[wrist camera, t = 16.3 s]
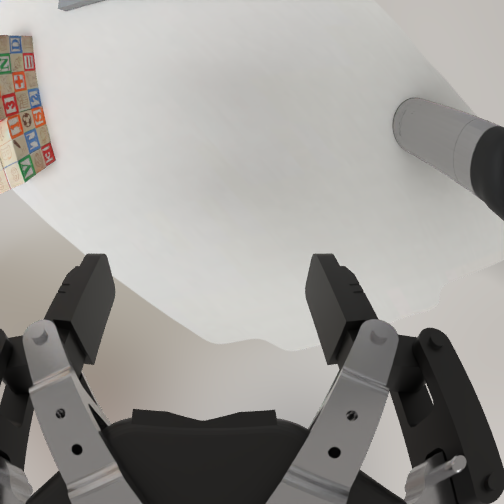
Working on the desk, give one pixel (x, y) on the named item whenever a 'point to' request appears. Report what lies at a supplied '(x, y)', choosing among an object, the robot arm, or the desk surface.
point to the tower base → (74, 4)
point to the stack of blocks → (20, 115)
